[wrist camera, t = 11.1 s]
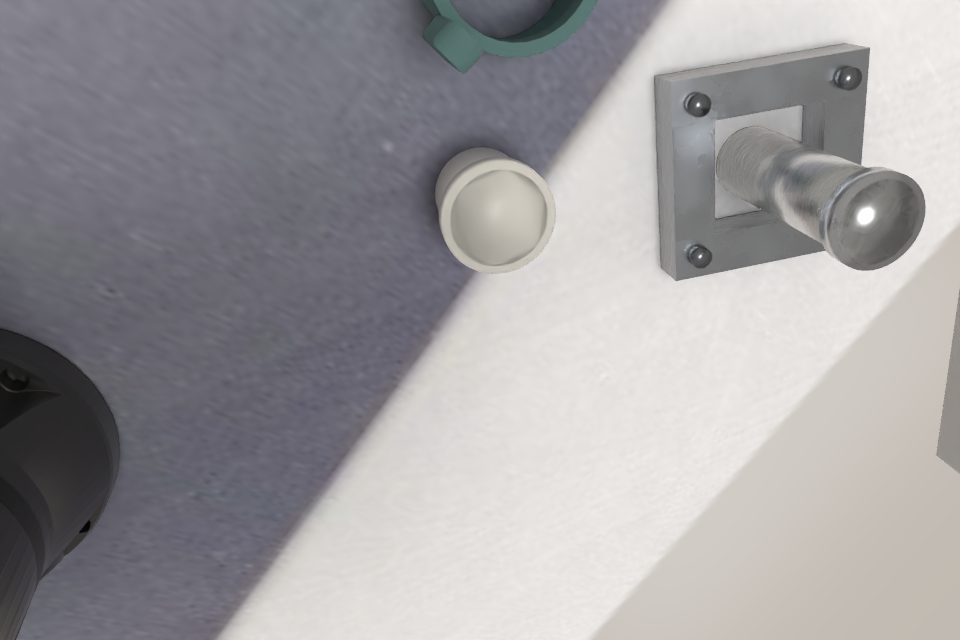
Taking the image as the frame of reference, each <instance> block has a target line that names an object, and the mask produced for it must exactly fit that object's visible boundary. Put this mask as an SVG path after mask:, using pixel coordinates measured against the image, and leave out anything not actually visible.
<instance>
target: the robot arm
mask: <svg viewBox="0 0 960 640" xmlns="http://www.w3.org/2000/svg"><path fill="white" fill-rule="evenodd" d="M937 456H938V457H939V458H941V459H942V460H943V461H944V462H946V463H947V464H948V465H950V466H951V467H952V468H953V469H954V470H956V471H957V472H958V473H959V474H960V291H959V298H958V306H957V312H956V320H955V326H954V333H953V340H952V347H951V355H950V362H949V369H948V376H947V384H946V390H945V397H944V404H943V412H942V419H941V426H940V432H939V440H938V447H937ZM119 458H120V447H119V438H118V433H117V429H116V425H115V422H114V419H113V417H112V414H111V412H110V410H109V408H108V406H107V404H106V402H105V401H104V399H103V398H102V396H101V395H100V393H99V392H98V391H97V389H96V388H95V387H94V385H93V384H92V383H91V382H90V381H89V380H88V379H87V378H86V377H85V376H84V375H83V374H82V373H81V372H80V371H79V370H78V369H77V368H76V367H75V366H73V365H72V364H71V363H70V362H68V361H67V360H66V359H64V358H63V357H61V356H60V355H58V354H57V353H55V352H54V351H52V350H50V349H48V348H47V347H45V346H43V345H41V344H39V343H37V342H35V341H33V340H30V339H28V338H25V337H23V336H20V335H17V334H14V333H11V332H8V331H4V330H1V329H0V640H16V638H17V636H18V633H19V631H20V628H21V626H22V623H23V620H24V618H25V615H26V613H27V610H28V607H29V605H30V602H31V600H32V597H33V594H34V592H35V590H36V587H37V585H38V582H39V581H40V580H41V579H42V578H43V577H44V576H46V575H47V574H48V573H49V572H50V571H51V570H52V569H53V568H54V567H55V566H56V565H57V564H58V563H59V562H60V561H61V560H62V559H63V557H64V556H65V555H66V554H68V553H69V552H70V551H72V550H73V549H74V548H75V547H76V546H77V545H78V544H79V543H80V542H81V541H82V540H83V539H84V538H85V537H86V536H87V535H88V534H89V532H90V531H91V530H92V529H93V527H94V526H95V524H96V523H97V521H98V520H99V518H100V516H101V515H102V513H103V511H104V509H105V507H106V505H107V502H108V499H109V496H110V494H111V491H112V488H113V485H114V482H115V479H116V476H117V472H118V467H119Z"/></svg>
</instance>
